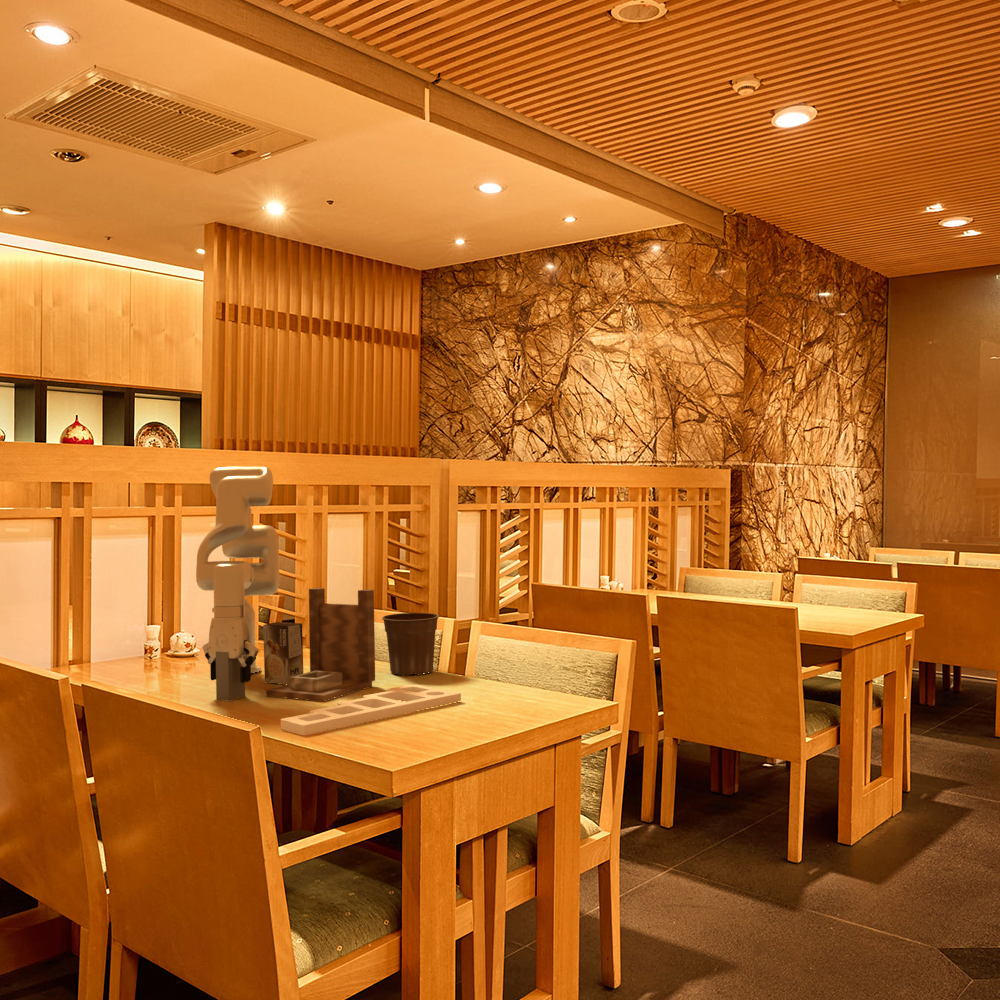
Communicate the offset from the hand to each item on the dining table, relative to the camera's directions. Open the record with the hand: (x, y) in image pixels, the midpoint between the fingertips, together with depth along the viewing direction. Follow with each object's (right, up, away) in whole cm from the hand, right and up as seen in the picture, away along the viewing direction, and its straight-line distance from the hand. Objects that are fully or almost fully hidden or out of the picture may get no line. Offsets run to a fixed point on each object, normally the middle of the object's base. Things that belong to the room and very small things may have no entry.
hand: (230, 680), depth 245 cm
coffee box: (+9, -5, +20) cm, 22 cm away
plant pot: (+43, -4, +33) cm, 54 cm away
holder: (+36, -5, -19) cm, 41 cm away
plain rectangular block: (0, -4, 0) cm, 4 cm away
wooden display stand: (+22, -4, +7) cm, 23 cm away
